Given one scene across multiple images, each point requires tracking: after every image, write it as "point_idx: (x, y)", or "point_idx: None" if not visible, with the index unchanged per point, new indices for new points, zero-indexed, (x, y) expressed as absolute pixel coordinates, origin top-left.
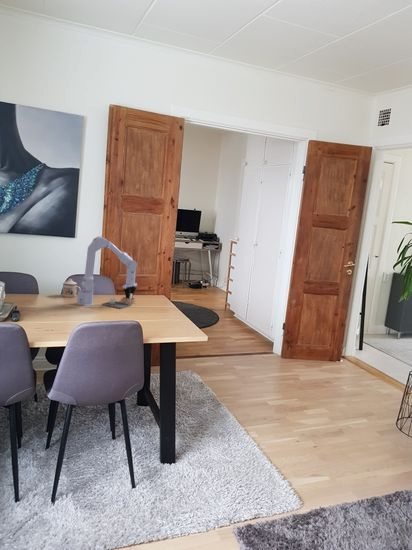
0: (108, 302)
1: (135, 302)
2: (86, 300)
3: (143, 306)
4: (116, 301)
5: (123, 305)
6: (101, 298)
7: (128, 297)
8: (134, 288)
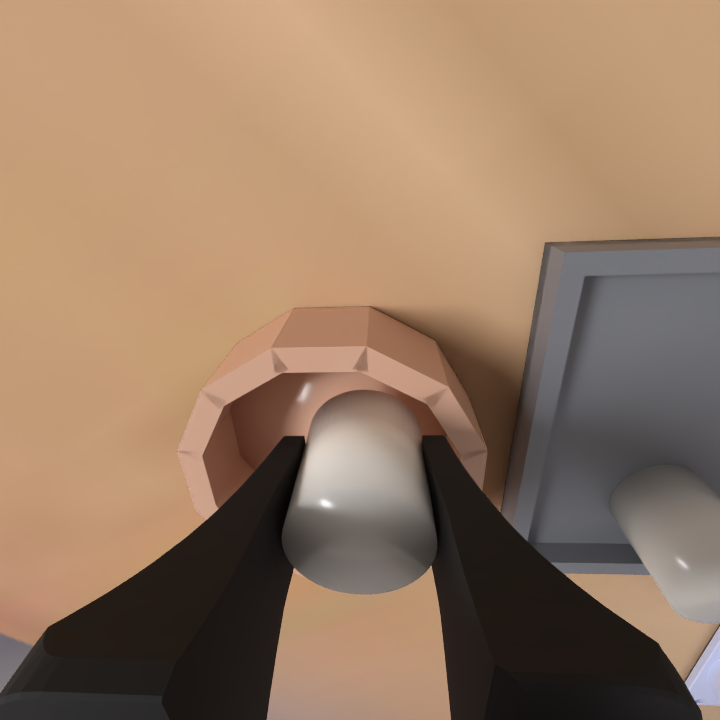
0: None
1: (234, 348)
2: None
3: (329, 41)
4: (517, 529)
5: (615, 359)
6: (381, 685)
7: (451, 455)
8: (189, 666)
